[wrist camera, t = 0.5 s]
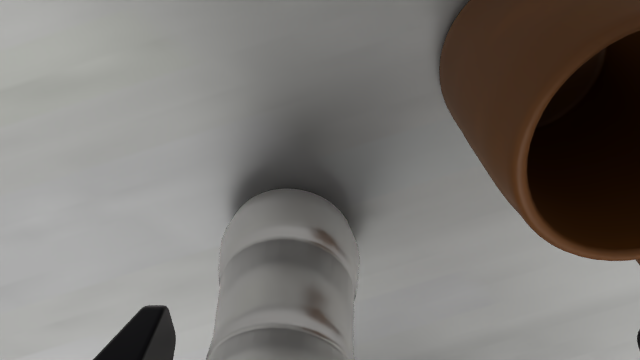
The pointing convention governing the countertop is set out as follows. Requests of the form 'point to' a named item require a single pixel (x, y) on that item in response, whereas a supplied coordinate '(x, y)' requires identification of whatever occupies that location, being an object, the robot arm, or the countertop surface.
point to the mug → (554, 114)
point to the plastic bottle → (286, 281)
